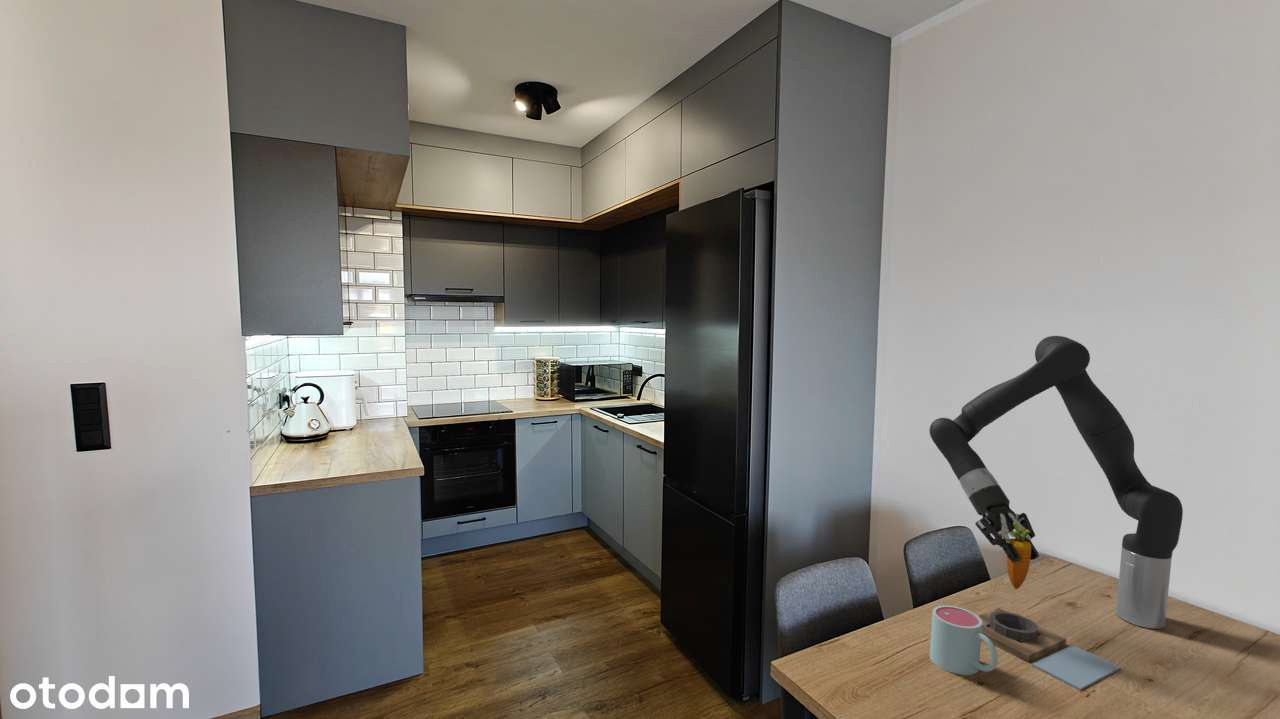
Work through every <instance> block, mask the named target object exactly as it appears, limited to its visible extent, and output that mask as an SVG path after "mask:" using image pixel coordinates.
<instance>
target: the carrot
mask: <svg viewBox="0 0 1280 719" xmlns="http://www.w3.org/2000/svg"><path fill="white" fill-rule="evenodd" d="M1013 526H1014V528H1015V529H1014V530H1013V531H1011V532H1012V534H1013V535H1014V536H1015V537H1016V538H1015V537H1014V538H1009V539H1010V543H1012V544H1013V546H1014V547H1015V549H1016V551H1017V552H1018V554H1019V555H1020V557H1021V560H1020V561H1018V562H1015V563H1013V562H1012V561H1011V560H1010V559H1009V558H1008V556H1007V555H1006V569H1007V574H1008V578H1009V580H1010V583H1011V585H1012V587H1014V589H1016V590H1018V589H1019V588H1020V587H1021V586H1022V585H1023V584H1024V582H1025V581H1026V577H1027V576H1028V572H1029V569H1030V564H1031V560H1030V557H1031V544H1030V543H1029V542H1027V541H1025V540H1024V539H1025V538H1026V536H1027V535H1028V534H1029V533H1030V531H1029V530H1025V528H1024V527H1021V530H1022V535H1021V533H1020V530H1019V527H1018V525H1017V523H1013ZM1015 530H1016V531H1015Z"/></svg>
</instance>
